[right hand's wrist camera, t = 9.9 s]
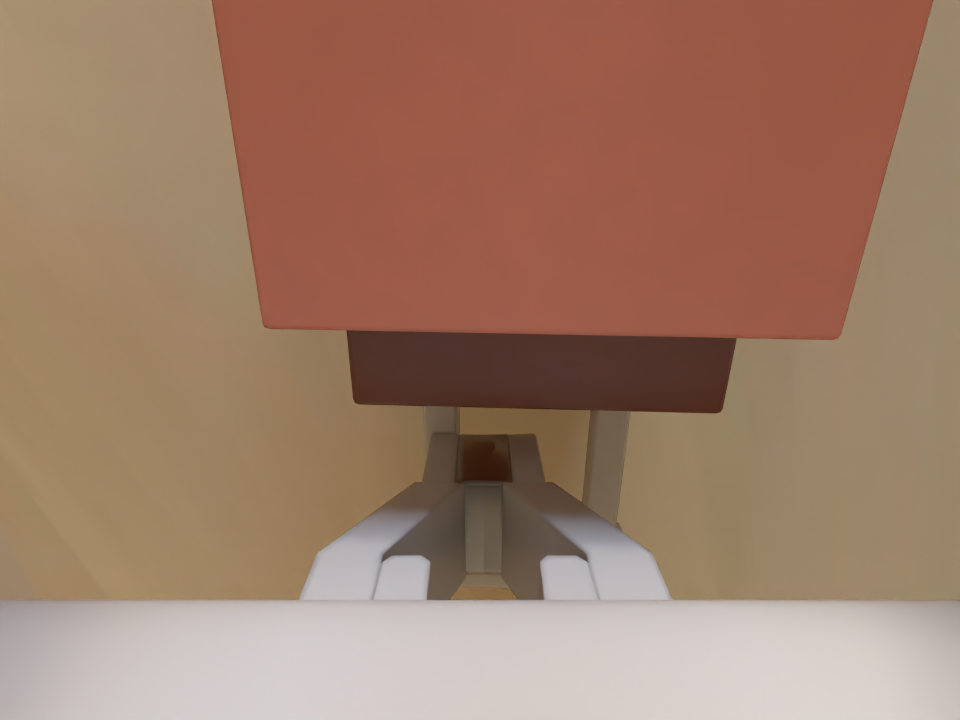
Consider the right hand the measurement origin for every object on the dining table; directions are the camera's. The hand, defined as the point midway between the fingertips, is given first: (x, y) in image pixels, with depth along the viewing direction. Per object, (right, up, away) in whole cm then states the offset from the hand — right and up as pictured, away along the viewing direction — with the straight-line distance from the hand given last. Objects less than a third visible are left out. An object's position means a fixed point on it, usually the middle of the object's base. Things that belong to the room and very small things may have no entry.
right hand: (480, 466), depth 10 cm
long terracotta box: (+1, +15, +1) cm, 15 cm away
